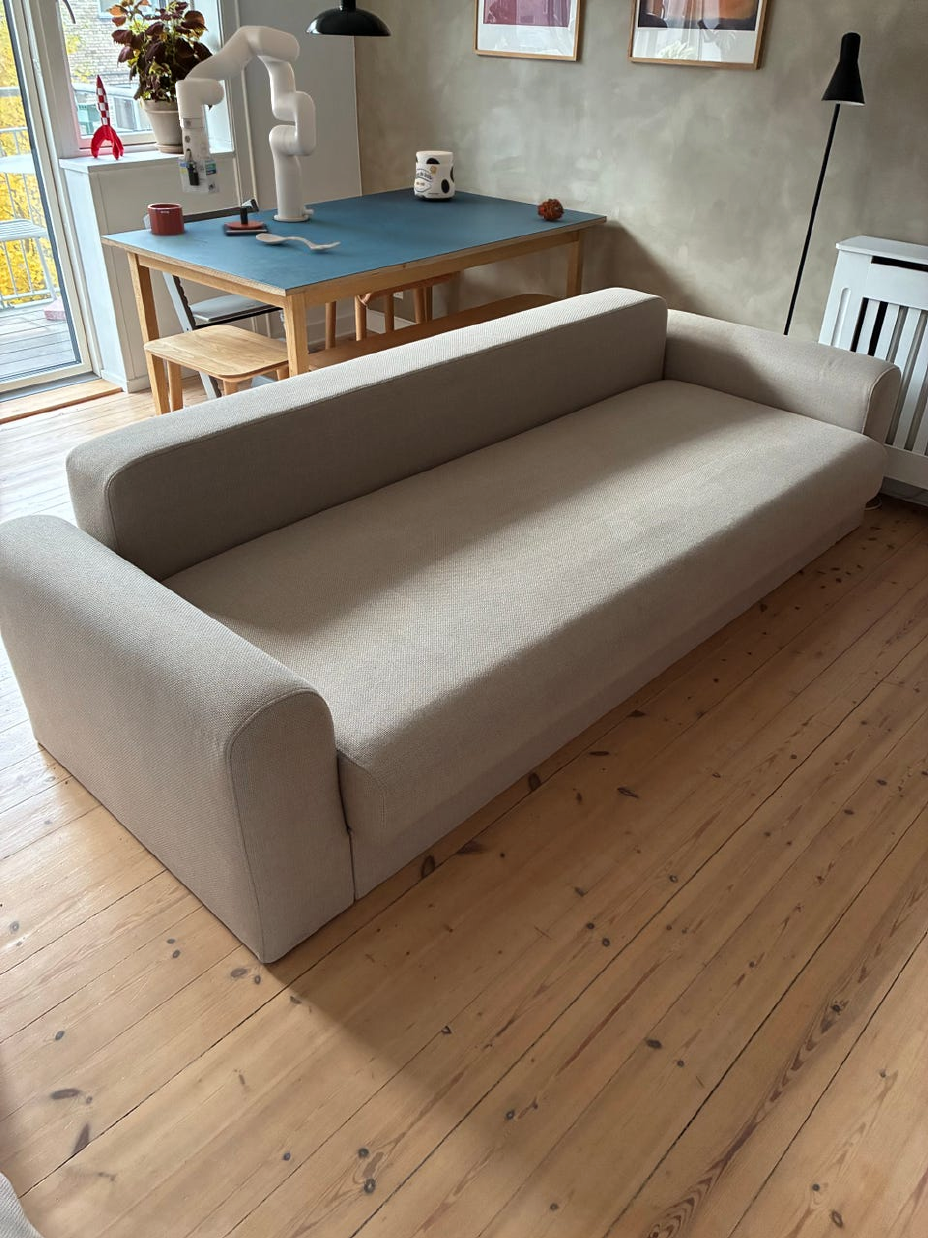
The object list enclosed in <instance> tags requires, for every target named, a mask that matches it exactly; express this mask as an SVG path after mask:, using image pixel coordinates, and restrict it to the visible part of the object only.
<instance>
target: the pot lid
mask: <svg viewBox="0 0 928 1238" xmlns="http://www.w3.org/2000/svg"><path fill="white" fill-rule="evenodd" d="M238 208H239V217H240V218H239V220H237V221H230V222H227V223H228V224H227V226H228V227H231V228H234V229H242V230H246V229H255V228H257V227H261V226H262V223H260V222H261V221H254V220H249V217H248V216H249V215H248V207H247V206H239V207H238Z"/></svg>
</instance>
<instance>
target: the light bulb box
mask: <svg viewBox="0 0 928 1238" xmlns="http://www.w3.org/2000/svg"><path fill="white" fill-rule="evenodd" d="M184 158H185V157H184V156H179V157H177V160H178V167H179V175H180V182H181V187H182V193H183V194H195V195H208V196H210V195H213V194H217V193H220V192H221V189H220V181H219V174H218V173H219V172H218V166H217V159H216V156H211V157H206V158H201V159H199V161H200V163H199V164H198V163H197V162H196V166H197V173H198V177H199V186H191V185H190V182H189V174H188V172H187V168H186V165H185V163H184ZM190 162H194V160H193V159H191V160H190ZM192 166H193V168H194V165H192Z"/></svg>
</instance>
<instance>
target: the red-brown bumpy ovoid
mask: <svg viewBox="0 0 928 1238" xmlns="http://www.w3.org/2000/svg"><path fill="white" fill-rule="evenodd" d="M536 212H537V215H538V216H540V218H543V220H544V221H545V222H548V221H550V222H556V221H557V220H558V219H561V218H562V217H563V215H564V214H565V211H564V206H563V204H562V203H561V202H560V201H559V200H558V199H557V198H553V199H552V198H548V199H547V200H546V201H543V202H542V203H541V204H539V205H538V207H537V211H536Z"/></svg>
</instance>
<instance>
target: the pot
mask: <svg viewBox="0 0 928 1238" xmlns="http://www.w3.org/2000/svg"><path fill="white" fill-rule="evenodd" d="M147 211H148V218H149V224H150V232H151V234H153V235H156V236H177V235H181V234H184V233H185V232H186V230H185V229H186V228H185V221H184V215H183V214H184V213H183V206H182V205H181V204H179V203H169V202H167V203H165V202H164V203H153V204H149V205H148V206H147Z"/></svg>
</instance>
